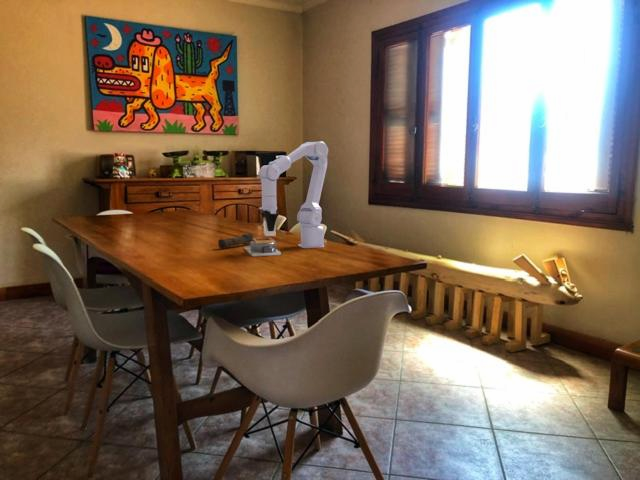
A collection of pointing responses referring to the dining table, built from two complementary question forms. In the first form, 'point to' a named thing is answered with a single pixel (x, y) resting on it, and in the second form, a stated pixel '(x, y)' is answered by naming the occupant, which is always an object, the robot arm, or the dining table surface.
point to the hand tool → (236, 241)
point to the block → (266, 232)
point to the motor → (262, 247)
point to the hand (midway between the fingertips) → (269, 230)
